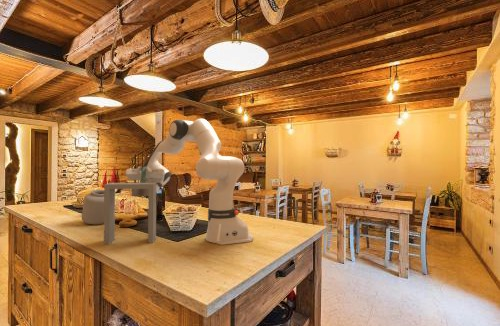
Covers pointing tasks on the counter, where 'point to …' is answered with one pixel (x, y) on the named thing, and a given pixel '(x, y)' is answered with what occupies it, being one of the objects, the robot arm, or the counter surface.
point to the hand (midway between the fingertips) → (143, 167)
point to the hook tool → (141, 191)
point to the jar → (94, 207)
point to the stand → (110, 209)
